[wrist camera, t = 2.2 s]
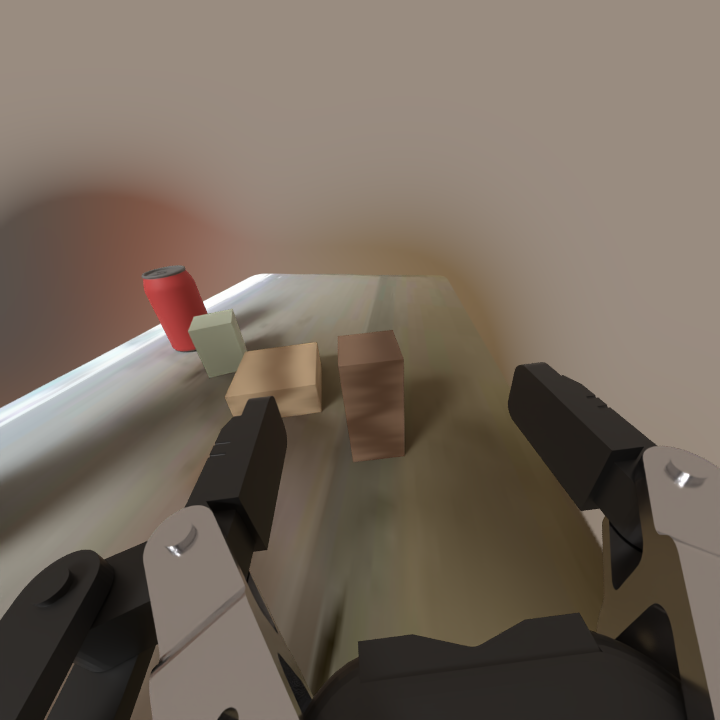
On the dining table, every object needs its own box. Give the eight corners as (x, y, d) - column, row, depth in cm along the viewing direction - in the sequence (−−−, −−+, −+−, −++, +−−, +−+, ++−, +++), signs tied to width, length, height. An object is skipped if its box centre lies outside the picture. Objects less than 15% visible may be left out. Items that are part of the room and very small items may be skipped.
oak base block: (237, 426, 31) (224, 397, 28) (254, 377, 38) (245, 351, 36) (321, 414, 31) (315, 384, 29) (322, 368, 39) (316, 342, 36)
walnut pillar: (353, 462, 25) (338, 366, 20) (351, 424, 29) (337, 336, 23) (404, 455, 25) (403, 359, 20) (395, 419, 29) (392, 330, 24)
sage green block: (209, 378, 38) (187, 331, 35) (212, 360, 43) (193, 316, 39) (247, 368, 40) (231, 322, 36) (247, 352, 44) (232, 308, 40)
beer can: (166, 348, 47) (128, 275, 41) (203, 331, 52) (174, 263, 45) (187, 357, 44) (149, 279, 37) (225, 338, 48) (197, 266, 42)
